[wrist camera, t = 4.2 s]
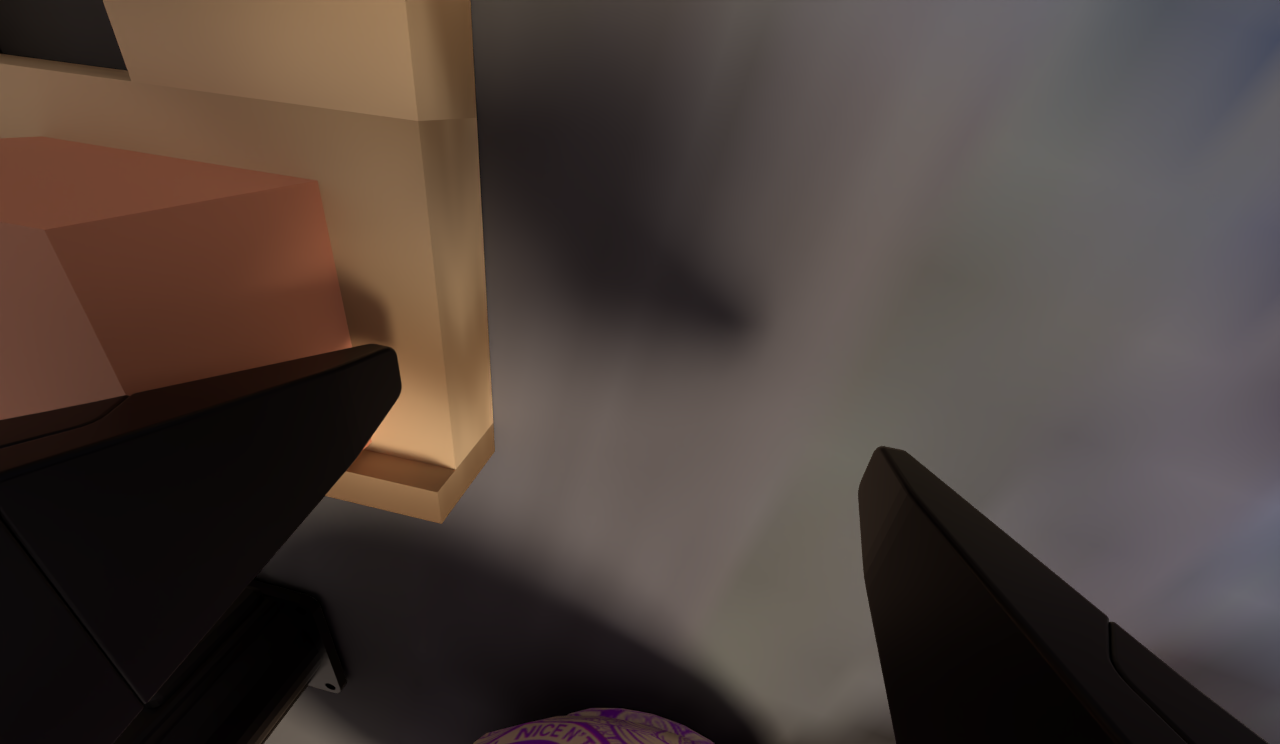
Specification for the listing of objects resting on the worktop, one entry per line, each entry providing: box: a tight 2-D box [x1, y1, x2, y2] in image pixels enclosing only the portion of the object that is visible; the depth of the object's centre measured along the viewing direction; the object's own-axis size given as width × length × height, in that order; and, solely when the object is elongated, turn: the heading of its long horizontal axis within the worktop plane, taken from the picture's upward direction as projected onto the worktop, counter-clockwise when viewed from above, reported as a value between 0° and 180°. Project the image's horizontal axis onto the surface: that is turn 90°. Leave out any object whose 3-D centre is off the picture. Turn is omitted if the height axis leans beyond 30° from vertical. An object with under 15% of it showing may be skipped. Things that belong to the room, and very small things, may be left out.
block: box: [0, 136, 372, 450], centre depth 9 cm, size 6×6×4 cm
